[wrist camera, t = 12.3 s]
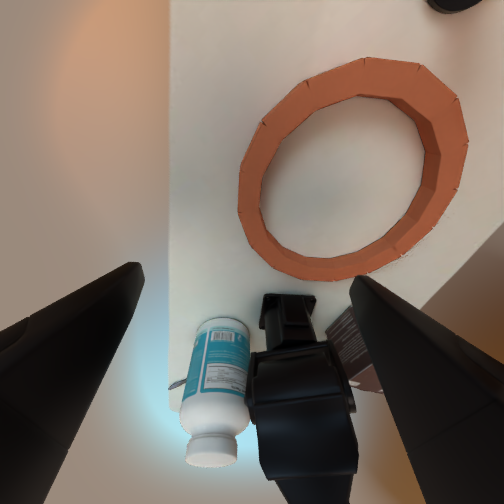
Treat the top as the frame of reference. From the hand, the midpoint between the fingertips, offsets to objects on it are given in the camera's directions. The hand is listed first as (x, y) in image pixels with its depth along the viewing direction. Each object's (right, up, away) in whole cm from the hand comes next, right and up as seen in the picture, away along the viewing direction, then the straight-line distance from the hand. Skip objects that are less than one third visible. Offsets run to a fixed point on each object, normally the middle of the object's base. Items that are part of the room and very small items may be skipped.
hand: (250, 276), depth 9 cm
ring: (+8, +6, +10) cm, 14 cm away
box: (+14, -9, +21) cm, 27 cm away
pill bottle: (-4, -10, +22) cm, 24 cm away
